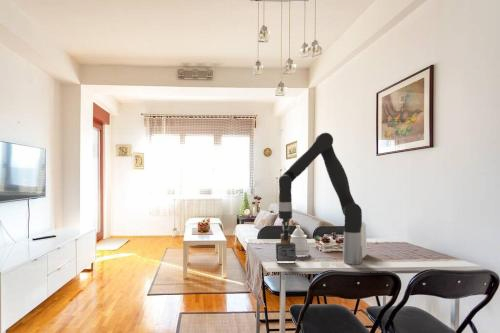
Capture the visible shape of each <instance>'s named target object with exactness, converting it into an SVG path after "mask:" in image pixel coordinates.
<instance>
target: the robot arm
mask: <svg viewBox="0 0 500 333" xmlns="http://www.w3.org/2000/svg"><path fill="white" fill-rule="evenodd" d="M333 143H334V137H333V135H332V134H331V133H329V132H321V133H319V135H317V136H316V138H315V141H314V142H313V144H312V145H311V146H309V148H308V149H307V150H306V151H305V152H304V153H303V154H302V155H301V156H300V157H298V159H296V161H294V163H293V164H291V166H289V167H288V169H287V170H286V171H285V172H284V173H283V174H282V175H281V176H279V178H278V188H279V189H278V190H279V193H278V194H279V195H278V200H279V201H278V218H279V220H282V221H281V228H282V234H284V240H288V234H290V233H289V232H290V231H289V230H290V221H289V220H291V219H293V202H292V200H293V199H292V184H293V182H294V181H295V179H297V177H299V176H300V175H301V174H303V173H304V172H305V170H306V169H307V168H309V166H310V165H311V164H312V162H314V160H315V159H317V158H318V157H319V155H321V157H322V159H323V162H324V163H323V164H324V166H325V169H326V172H327V175H328V178H329V180H330V182H331V185H332V187H333V189H334V191H335V193H336V195H337V197H338V201H339V204H340V207H341V211H342V214H343V216H344V226H343V240H344V256H343V262H344V263H345V264H347V265H348V264H349V265H359V264H361V265H362V264H363V258H362V246H361V227H362V221H363V212H362V211H363V210H362V208H361V206H360V205H359V204H358V203H356V202H355V200H354V198H353V196H352V194H351V190H350V182H349V180H348V175H347V173H346V171H345V169H344V167H343V165H342V163H341V161H340V160H339V158H338V156H337V155H336V152H335V150H334V146H333Z"/></svg>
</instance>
